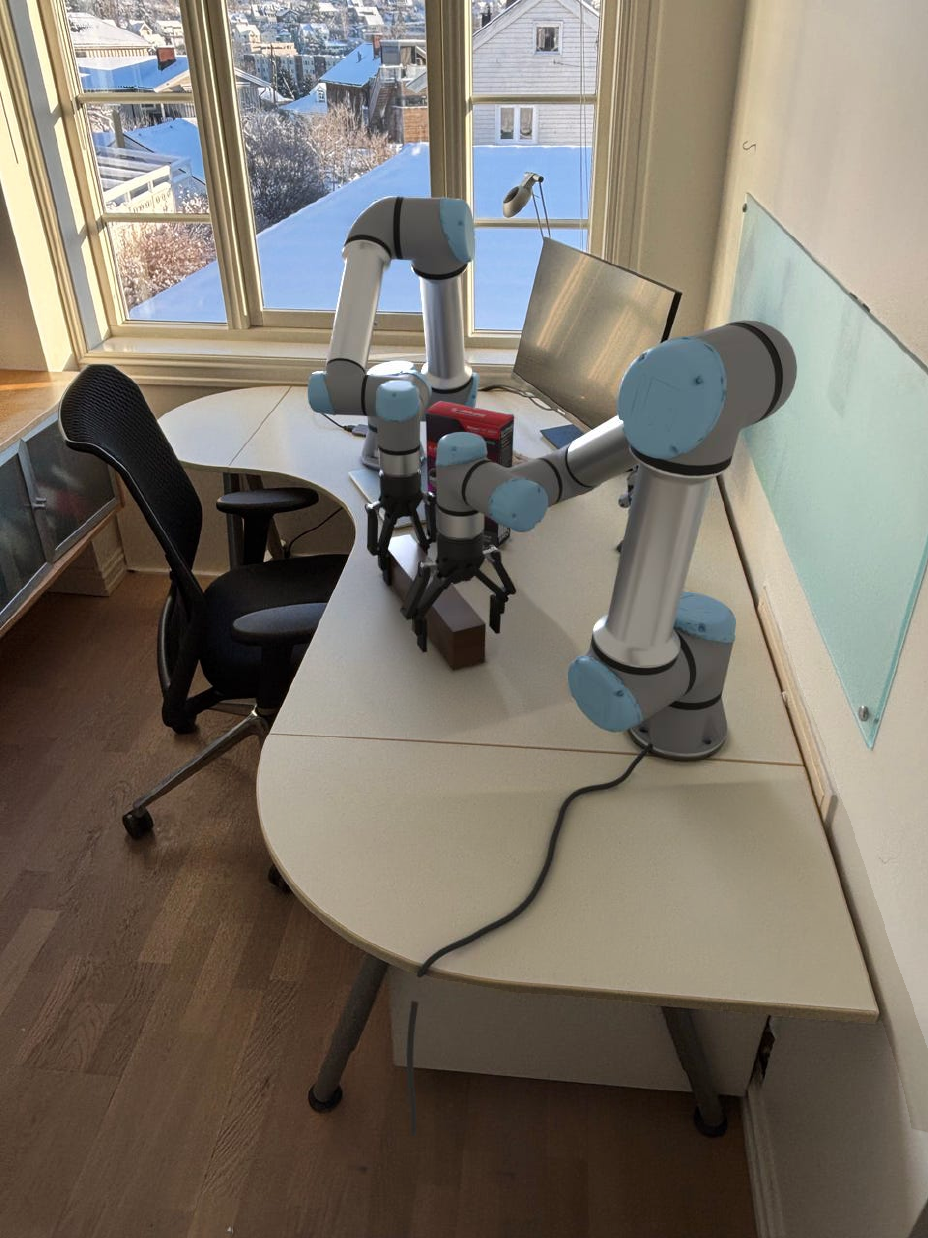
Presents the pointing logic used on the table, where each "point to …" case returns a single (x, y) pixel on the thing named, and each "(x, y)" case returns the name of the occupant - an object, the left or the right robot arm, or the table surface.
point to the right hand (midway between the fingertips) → (458, 639)
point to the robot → (627, 496)
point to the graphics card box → (480, 422)
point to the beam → (440, 608)
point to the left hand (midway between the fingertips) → (403, 578)
